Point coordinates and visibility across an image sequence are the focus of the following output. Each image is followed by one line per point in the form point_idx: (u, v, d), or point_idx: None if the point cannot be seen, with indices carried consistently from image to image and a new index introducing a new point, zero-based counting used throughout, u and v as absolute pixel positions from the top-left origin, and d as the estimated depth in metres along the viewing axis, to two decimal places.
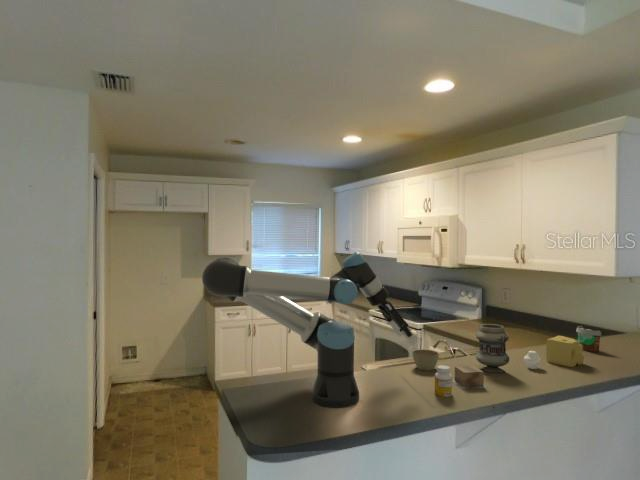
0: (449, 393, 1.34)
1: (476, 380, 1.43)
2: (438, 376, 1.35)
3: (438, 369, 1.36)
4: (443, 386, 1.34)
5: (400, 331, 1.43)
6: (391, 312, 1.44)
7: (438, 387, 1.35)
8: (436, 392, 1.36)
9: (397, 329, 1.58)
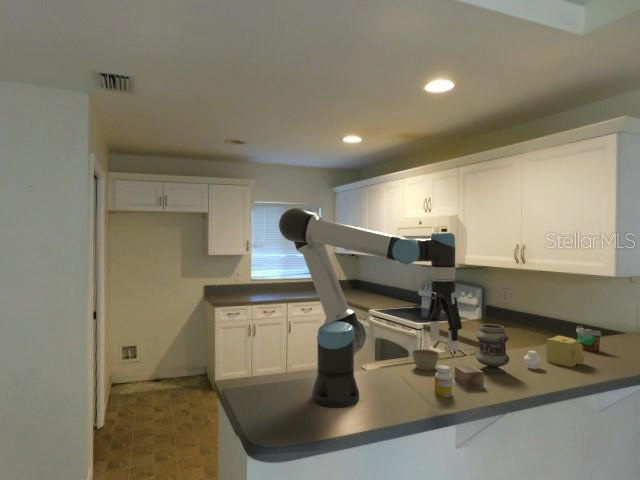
0: (449, 393, 1.34)
1: (476, 380, 1.43)
2: (438, 376, 1.35)
3: (438, 369, 1.36)
4: (443, 386, 1.34)
5: (449, 329, 1.29)
6: (452, 306, 1.30)
7: (438, 387, 1.35)
8: (436, 392, 1.36)
9: (434, 333, 1.43)
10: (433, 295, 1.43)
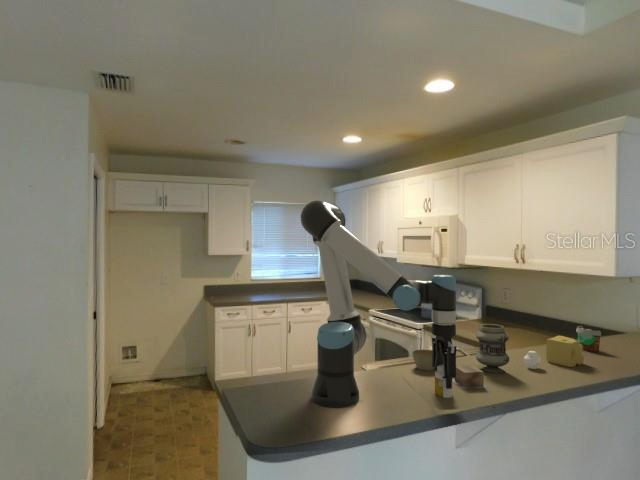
0: None
1: (476, 380, 1.43)
2: (438, 376, 1.35)
3: (438, 369, 1.36)
4: None
5: (443, 378, 1.32)
6: (450, 356, 1.31)
7: (438, 387, 1.35)
8: (436, 392, 1.36)
9: None
10: (434, 339, 1.42)
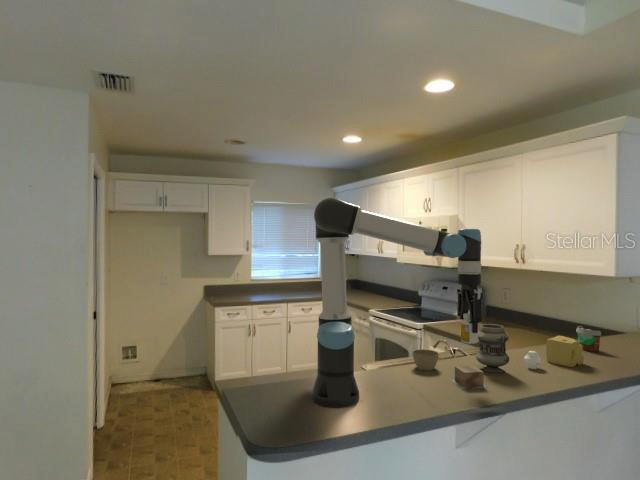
0: None
1: (476, 380, 1.43)
2: (464, 322, 1.45)
3: (464, 316, 1.46)
4: None
5: (470, 323, 1.42)
6: (476, 301, 1.40)
7: (464, 332, 1.45)
8: (462, 337, 1.46)
9: None
10: (459, 290, 1.52)
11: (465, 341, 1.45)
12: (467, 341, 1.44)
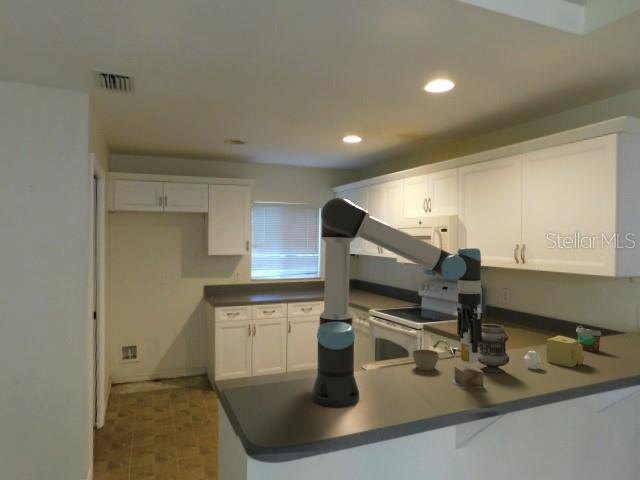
0: None
1: (476, 380, 1.43)
2: (464, 341, 1.45)
3: (464, 335, 1.46)
4: None
5: (470, 343, 1.42)
6: (476, 321, 1.40)
7: (464, 351, 1.45)
8: (462, 357, 1.46)
9: None
10: (459, 309, 1.52)
11: (465, 360, 1.45)
12: (467, 361, 1.44)
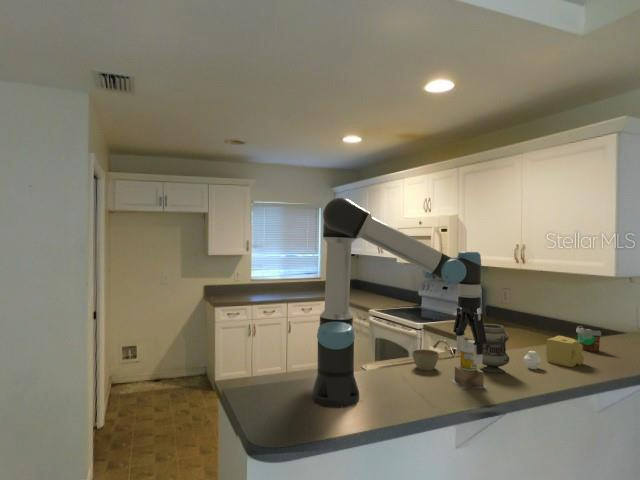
0: (474, 365, 1.44)
1: (476, 380, 1.43)
2: (464, 349, 1.45)
3: (464, 343, 1.46)
4: (468, 358, 1.44)
5: (474, 344, 1.39)
6: (478, 322, 1.40)
7: (464, 359, 1.45)
8: (462, 364, 1.46)
9: (460, 347, 1.52)
10: (459, 310, 1.52)
11: (464, 368, 1.45)
12: (466, 368, 1.44)
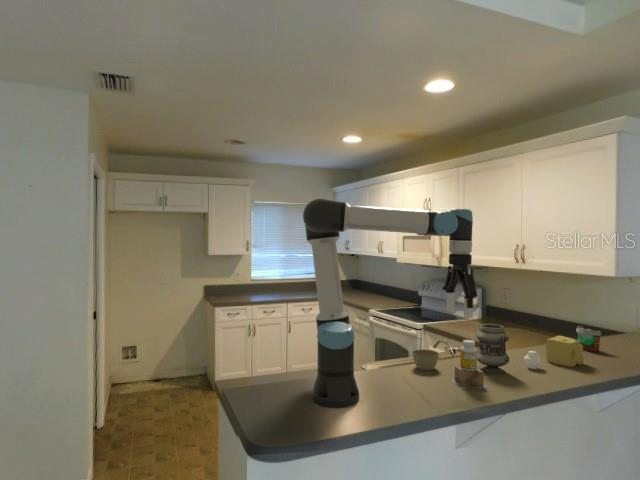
0: (474, 365, 1.44)
1: (476, 380, 1.43)
2: (464, 349, 1.45)
3: (464, 343, 1.46)
4: (468, 358, 1.44)
5: (465, 297, 1.39)
6: (468, 276, 1.40)
7: (464, 359, 1.45)
8: (462, 364, 1.46)
9: (450, 303, 1.54)
10: (450, 268, 1.53)
11: (464, 368, 1.45)
12: (466, 368, 1.44)
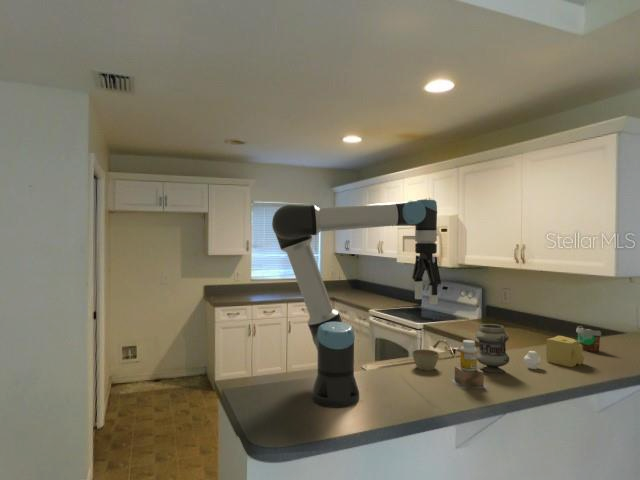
0: (474, 365, 1.44)
1: (476, 380, 1.43)
2: (464, 349, 1.45)
3: (464, 343, 1.46)
4: (468, 358, 1.44)
5: (429, 284, 1.43)
6: (432, 264, 1.44)
7: (464, 359, 1.45)
8: (462, 364, 1.46)
9: (418, 292, 1.58)
10: (417, 257, 1.57)
11: (464, 368, 1.45)
12: (466, 368, 1.44)
